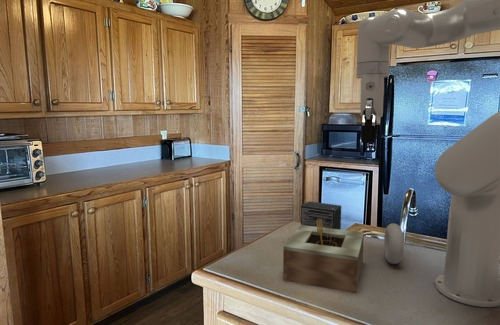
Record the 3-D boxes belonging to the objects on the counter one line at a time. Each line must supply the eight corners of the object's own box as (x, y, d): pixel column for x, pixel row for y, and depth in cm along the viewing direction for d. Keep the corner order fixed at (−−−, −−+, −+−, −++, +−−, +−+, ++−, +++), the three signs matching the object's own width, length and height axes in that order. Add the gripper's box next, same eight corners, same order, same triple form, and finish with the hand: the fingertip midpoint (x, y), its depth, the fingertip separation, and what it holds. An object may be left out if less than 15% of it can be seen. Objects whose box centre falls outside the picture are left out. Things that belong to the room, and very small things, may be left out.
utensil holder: (323, 280, 81) (325, 229, 79) (307, 269, 87) (308, 221, 85) (344, 274, 84) (345, 225, 82) (327, 264, 89) (328, 217, 88)
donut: (403, 271, 85) (406, 231, 84) (388, 270, 86) (390, 230, 84) (395, 255, 95) (398, 218, 93) (382, 254, 96) (384, 217, 94)
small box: (341, 239, 107) (342, 204, 105) (334, 246, 101) (335, 210, 100) (308, 232, 112) (309, 200, 111) (299, 239, 107) (300, 204, 105)
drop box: (362, 262, 90) (363, 232, 89) (356, 292, 76) (357, 256, 74) (300, 253, 96) (300, 224, 95) (283, 279, 81) (283, 246, 80)
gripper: (388, 66, 78) (384, 144, 81) (389, 73, 94) (385, 138, 97) (352, 68, 81) (349, 143, 84) (359, 74, 97) (357, 138, 100)
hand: (369, 141), depth 90 cm, fingers open, 9 cm apart
